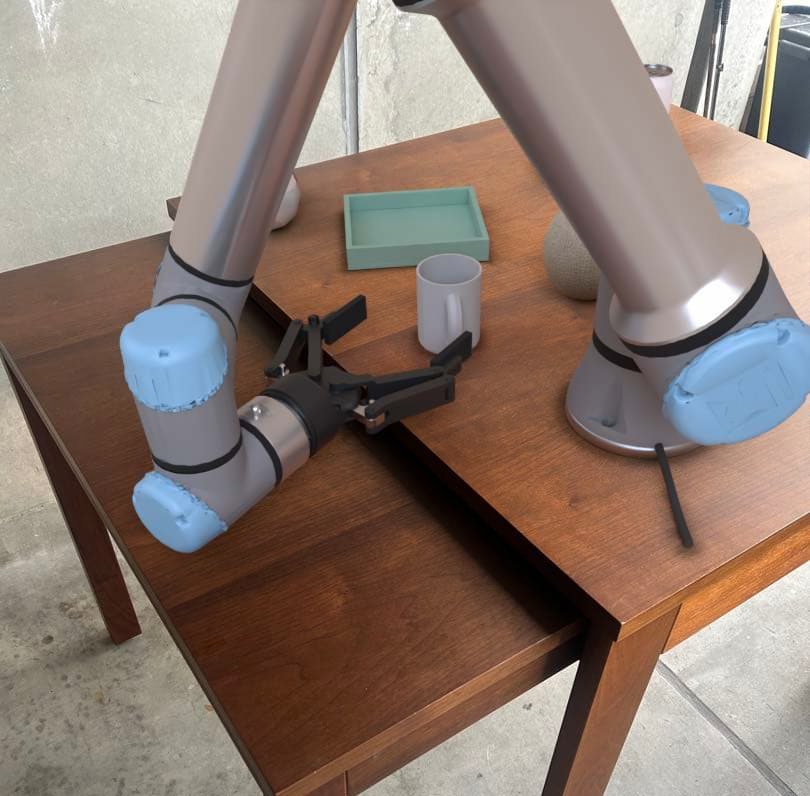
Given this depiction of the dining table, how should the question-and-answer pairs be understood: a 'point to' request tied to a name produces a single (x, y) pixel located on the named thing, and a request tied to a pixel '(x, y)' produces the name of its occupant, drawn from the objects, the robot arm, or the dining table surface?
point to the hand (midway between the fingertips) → (414, 323)
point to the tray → (413, 227)
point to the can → (662, 81)
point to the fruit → (569, 261)
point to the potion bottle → (288, 204)
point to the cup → (448, 300)
